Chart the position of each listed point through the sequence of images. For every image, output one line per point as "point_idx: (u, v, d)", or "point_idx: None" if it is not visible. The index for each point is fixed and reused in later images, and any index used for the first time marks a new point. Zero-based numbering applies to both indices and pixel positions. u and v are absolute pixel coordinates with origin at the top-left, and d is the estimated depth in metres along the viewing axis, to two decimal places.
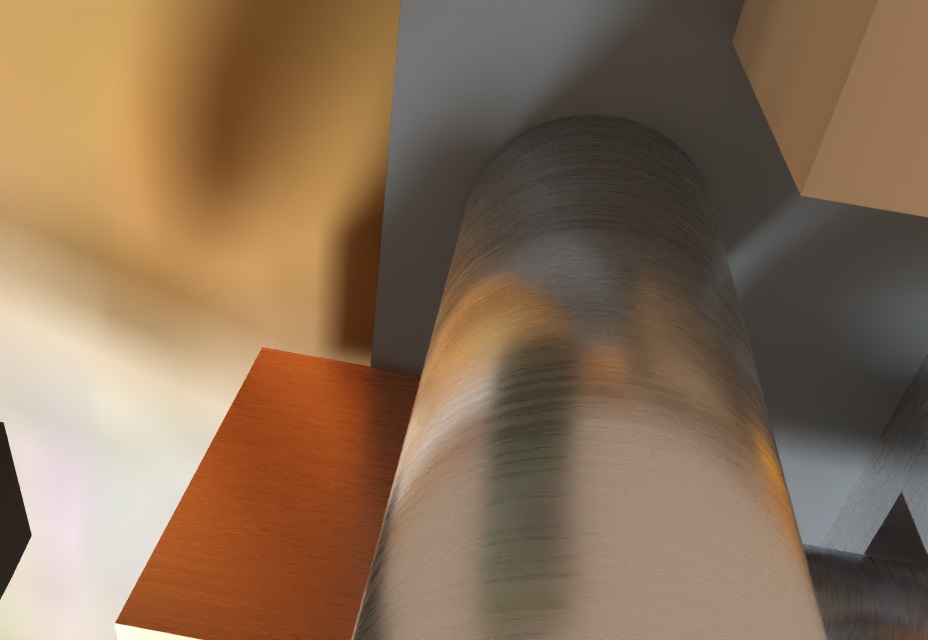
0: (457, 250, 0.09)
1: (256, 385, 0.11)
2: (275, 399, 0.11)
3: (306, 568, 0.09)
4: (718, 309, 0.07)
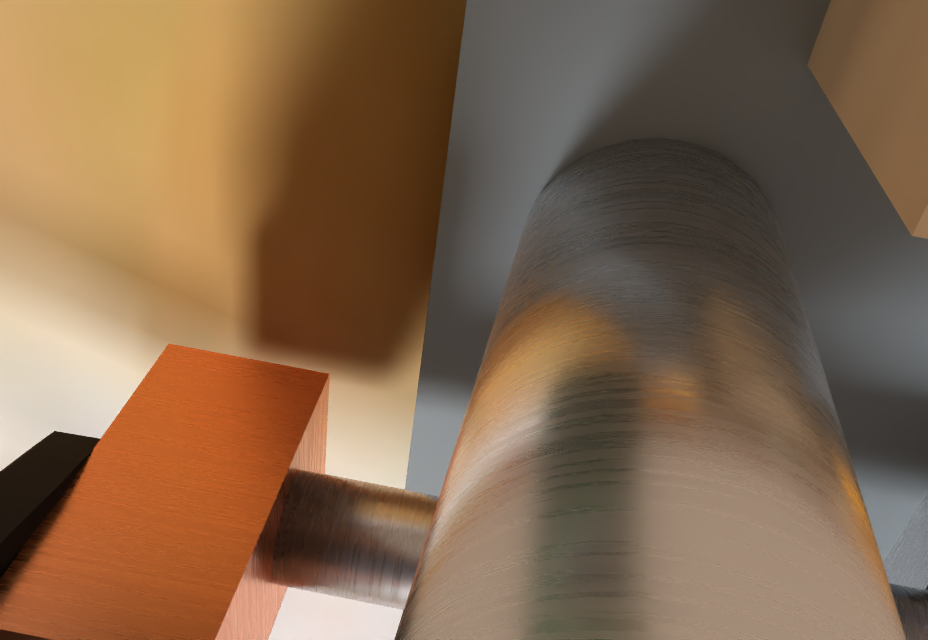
0: (513, 269, 0.08)
1: (156, 382, 0.11)
2: (173, 396, 0.11)
3: (178, 568, 0.09)
4: (793, 333, 0.07)
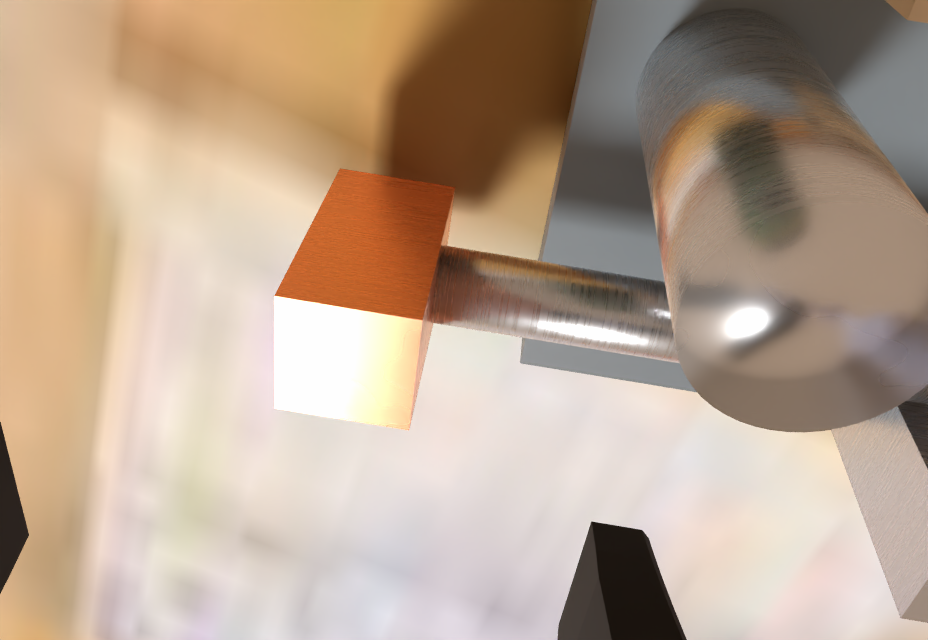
0: (656, 93, 0.13)
1: (340, 188, 0.16)
2: (354, 195, 0.15)
3: (390, 277, 0.13)
4: (847, 104, 0.12)
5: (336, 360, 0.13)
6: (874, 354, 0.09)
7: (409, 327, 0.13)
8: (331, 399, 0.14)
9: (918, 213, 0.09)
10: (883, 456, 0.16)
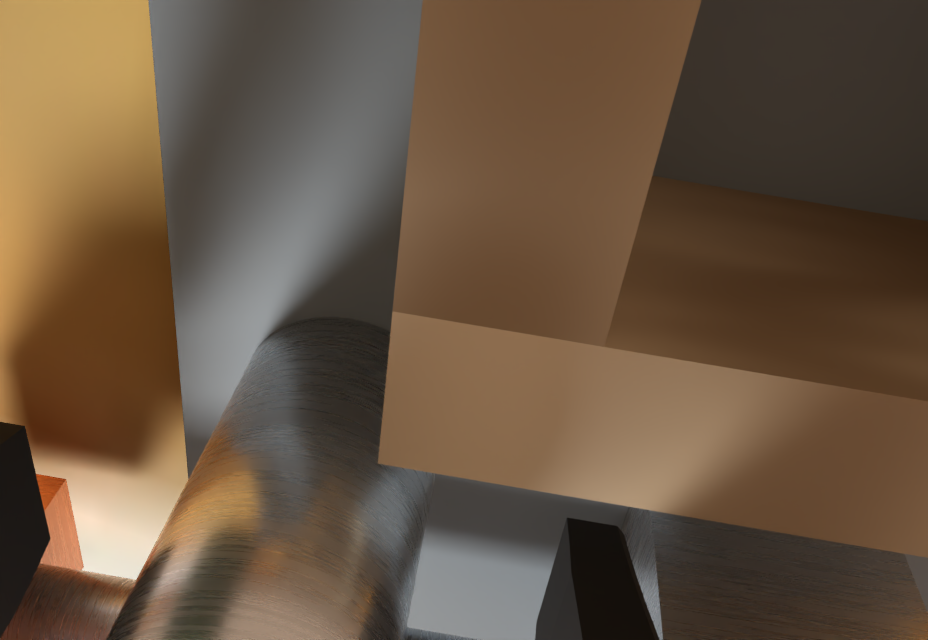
0: (209, 440, 0.11)
1: None
2: None
3: None
4: (360, 521, 0.09)
5: None
6: None
7: None
8: None
9: None
10: None
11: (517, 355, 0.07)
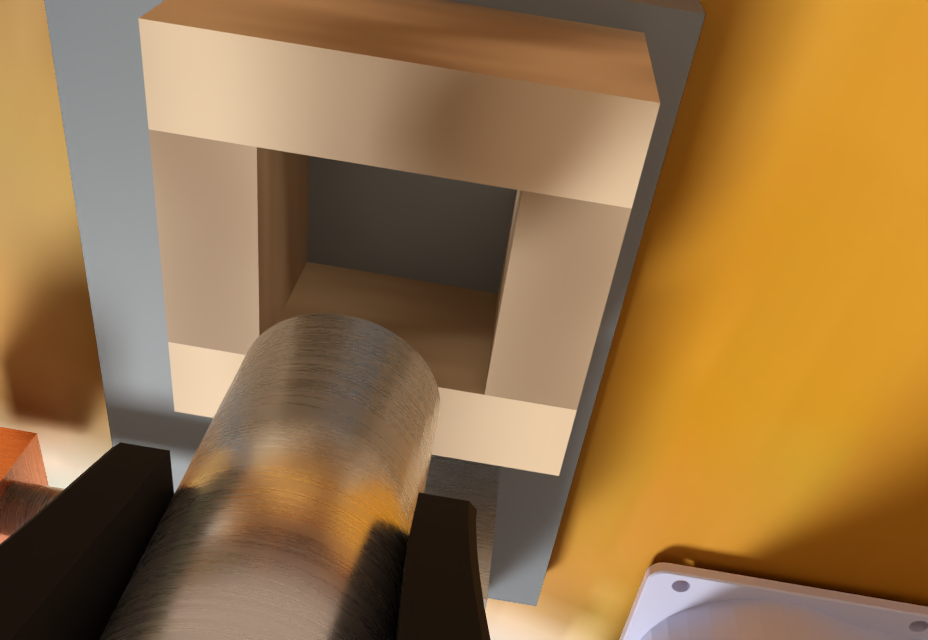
0: (207, 429, 0.11)
1: None
2: None
3: None
4: (362, 521, 0.09)
5: None
6: None
7: None
8: None
9: None
10: None
11: (224, 361, 0.17)
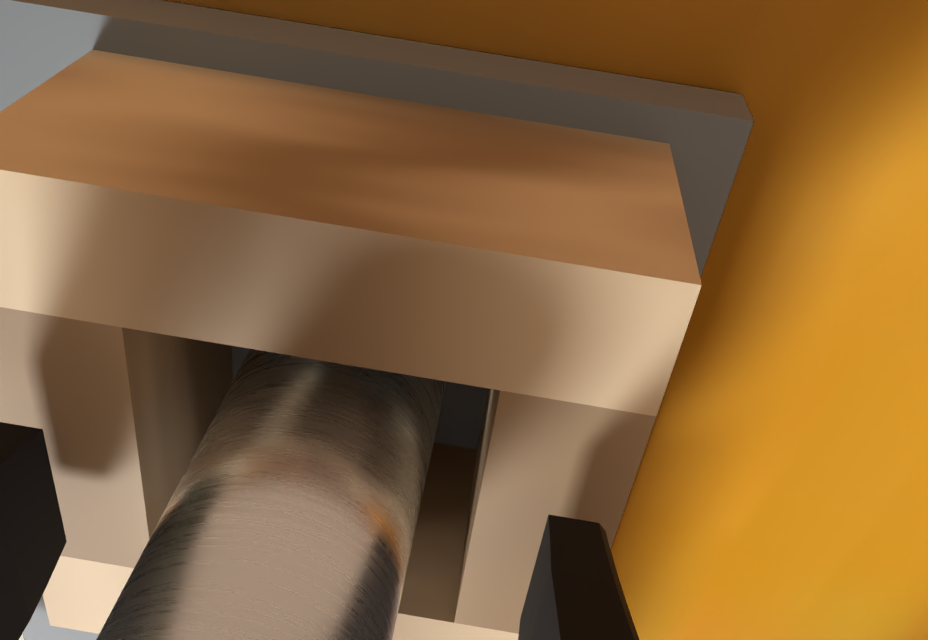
0: None
1: None
2: None
3: None
4: (385, 429, 0.11)
5: None
6: None
7: None
8: None
9: None
10: None
11: (108, 573, 0.13)
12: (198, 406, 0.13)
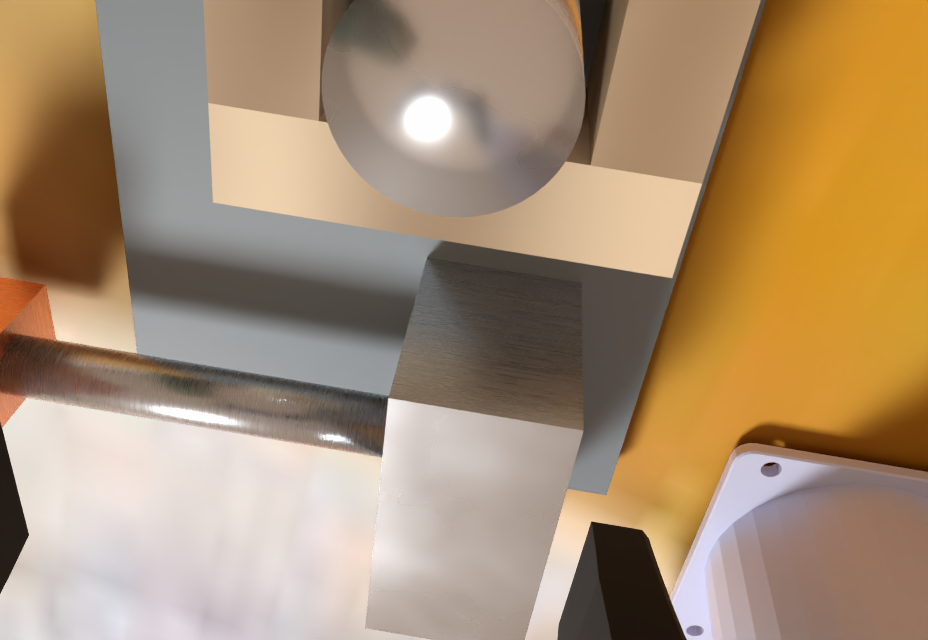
0: None
1: None
2: None
3: None
4: None
5: None
6: (509, 132, 0.10)
7: None
8: None
9: None
10: None
11: (276, 128, 0.14)
12: None
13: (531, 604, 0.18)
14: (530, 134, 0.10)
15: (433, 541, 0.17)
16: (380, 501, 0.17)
